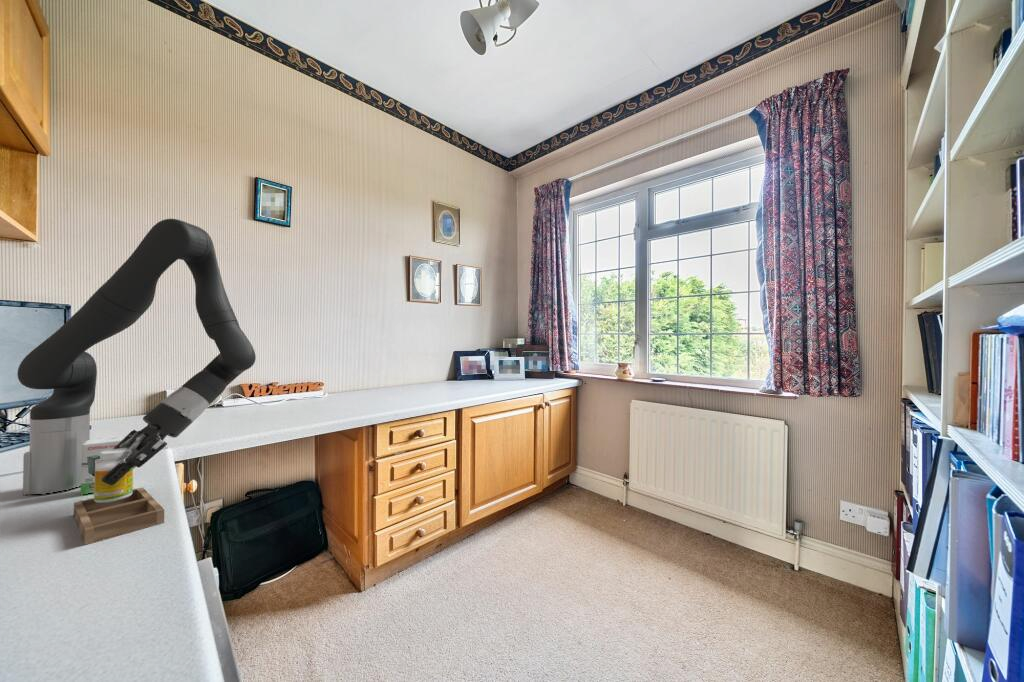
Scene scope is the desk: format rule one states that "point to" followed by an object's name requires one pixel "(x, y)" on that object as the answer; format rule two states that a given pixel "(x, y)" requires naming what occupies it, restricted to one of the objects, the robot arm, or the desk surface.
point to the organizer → (117, 516)
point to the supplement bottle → (121, 487)
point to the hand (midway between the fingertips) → (101, 479)
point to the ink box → (94, 460)
